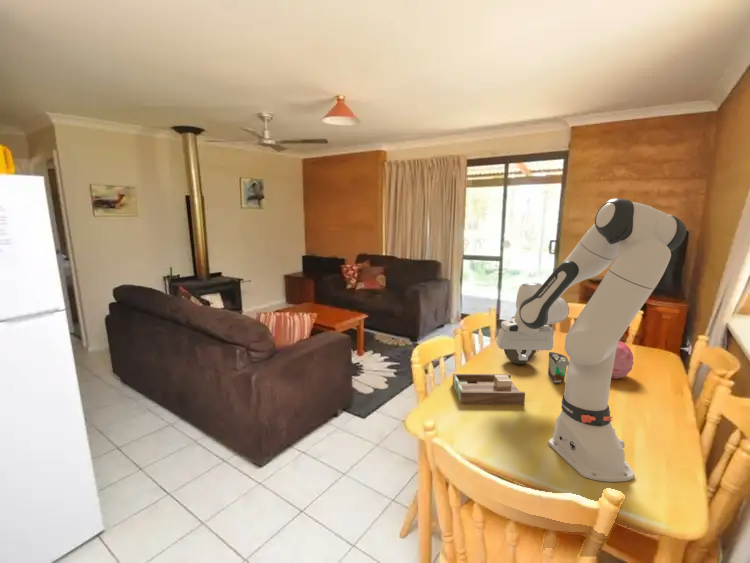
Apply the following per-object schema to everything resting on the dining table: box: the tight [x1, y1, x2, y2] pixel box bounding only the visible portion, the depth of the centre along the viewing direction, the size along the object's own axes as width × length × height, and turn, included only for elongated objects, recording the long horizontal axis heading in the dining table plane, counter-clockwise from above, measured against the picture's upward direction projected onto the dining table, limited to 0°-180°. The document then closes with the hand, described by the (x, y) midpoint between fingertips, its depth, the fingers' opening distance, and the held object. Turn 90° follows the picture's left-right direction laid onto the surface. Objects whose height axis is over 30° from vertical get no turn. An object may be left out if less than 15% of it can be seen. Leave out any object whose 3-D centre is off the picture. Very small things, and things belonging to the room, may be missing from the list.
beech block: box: [494, 375, 513, 391], centre depth 139 cm, size 5×5×4 cm
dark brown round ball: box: [503, 349, 537, 365], centre depth 169 cm, size 14×14×15 cm
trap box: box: [452, 373, 526, 405], centre depth 140 cm, size 16×23×4 cm
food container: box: [547, 351, 570, 385], centre depth 151 cm, size 12×6×10 cm, turn 168°
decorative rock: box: [611, 340, 634, 379], centre depth 156 cm, size 19×14×15 cm
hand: (522, 359), depth 138 cm, fingers closed
